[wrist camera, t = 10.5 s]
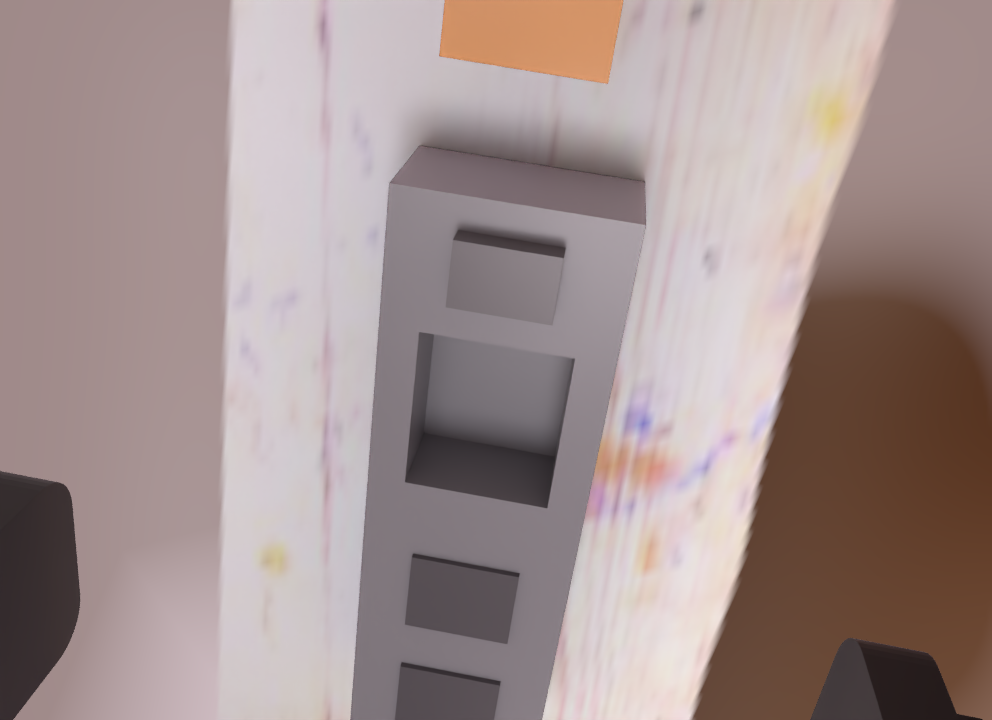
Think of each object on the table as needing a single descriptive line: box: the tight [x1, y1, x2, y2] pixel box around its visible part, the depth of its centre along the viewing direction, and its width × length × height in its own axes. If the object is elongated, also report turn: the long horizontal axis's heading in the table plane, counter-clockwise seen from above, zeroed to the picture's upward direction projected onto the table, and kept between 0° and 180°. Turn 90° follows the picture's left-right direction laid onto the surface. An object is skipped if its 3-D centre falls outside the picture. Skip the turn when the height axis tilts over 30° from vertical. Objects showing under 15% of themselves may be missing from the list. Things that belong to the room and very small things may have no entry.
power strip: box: [350, 146, 646, 720], centre depth 32 cm, size 22×7×5 cm, turn 174°
